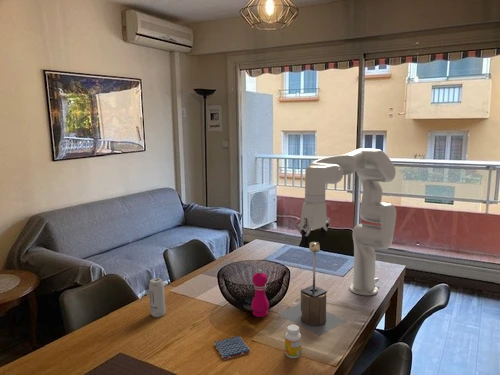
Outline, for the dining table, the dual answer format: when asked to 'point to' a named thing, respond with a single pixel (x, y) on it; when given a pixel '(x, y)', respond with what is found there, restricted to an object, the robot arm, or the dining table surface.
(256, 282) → the pepper mill
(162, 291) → the energy drink can
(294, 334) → the supplement bottle
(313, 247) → the plunger
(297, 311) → the slate board
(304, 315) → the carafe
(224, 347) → the woven mat
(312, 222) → the robot arm
